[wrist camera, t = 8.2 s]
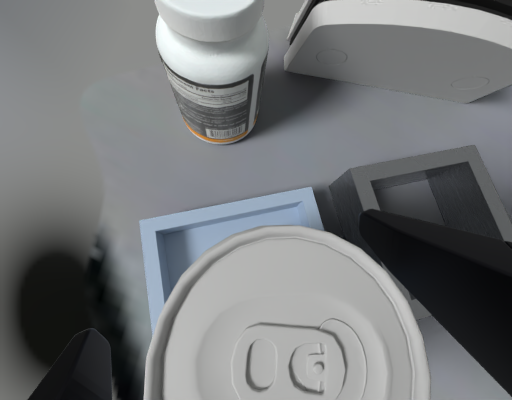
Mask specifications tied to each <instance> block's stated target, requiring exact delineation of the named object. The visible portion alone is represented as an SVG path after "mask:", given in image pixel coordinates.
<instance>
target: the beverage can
mask: <svg viewBox="0 0 512 400" xmlns="http://www.w3.org/2000/svg"><path fill="white" fill-rule="evenodd" d="M430 395H431V375H430V370H429V365H428V360H427V355H426V350H425V345H424V340H423V336H422V333H421V331H420V329H419V326H418V324H417V322H416V319H415V317H414V315H413V312H412V310H411V308H410V305H409V303H408V301H407V299H406V298H405V297H404V295H403V294H402V292H401V291H400V290H399V288H398V287H397V286H396V284H395V283H394V281H393V280H392V279H391V277H390V276H389V274H388V273H387V272H386V271H385V270H384V269H383V268H382V267H381V266H380V265H379V264H378V263H376V262H375V261H374V260H373V259H372V258H371V257H370V256H369V255H367V254H366V253H365V252H364V251H363V250H362V249H361V248H359V247H357V246H355V245H353V244H351V243H350V242H348V241H346V240H344V239H342V238H340V237H338V236H336V235H334V234H332V233H330V232H326V231H322V230H317V229H313V228H309V227H305V226H300V225H265V226H258V227H255V228H252V229H248V230H245V231H242V232H238V233H235V234H232V235H230V236H229V237H227V238H225V239H224V240H222V241H220V242H219V243H217V244H216V245H214V246H212V247H211V248H209V249H208V250H206V251H205V252H204V253H203V254H202V255H201V256H200V257H199V258H198V259H197V260H196V261H195V262H194V263H193V264H192V265H191V266H190V267H189V268H188V269H187V270H186V271H185V272H184V273H183V274H182V275H181V277H180V279H179V280H178V282H177V284H176V285H175V287H174V289H173V291H172V292H171V294H170V296H169V298H168V299H167V301H166V303H165V304H164V306H163V309H162V312H161V314H160V316H159V318H158V321H157V324H156V328H155V331H154V334H153V338H152V341H151V344H150V347H149V351H148V354H147V357H146V369H145V386H144V400H430Z"/></svg>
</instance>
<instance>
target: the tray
mask: <svg viewBox="0 0 512 400" xmlns="http://www.w3.org/2000/svg"><path fill="white" fill-rule="evenodd" d="M139 222H140V231H141V240H142V248H143V257H144V266H145V274H146V283H147V292H148V300H149V309H150V318H151V326H152V335H153V334H154V331H155V328H156V324H157V321H158V318H159V316H160V314H161V312H162V309H163V306H164V304H165V303H166V301H167V299H168V298H169V296H170V294H171V292H172V291H173V289H174V287H175V285H176V284H177V282H178V280H179V279H180V277H181V275H182V274H183V273H184V272H185V271H186V270H187V269H188V268H189V267H190V266H191V265H192V264H193V263H194V262H195V261H196V260H197V259H198V258H199V257H200V256H201V255H202V254H203V253H204V252H205V251H206V250H208V249H209V248H211V247H212V246H214V245H216V244H217V243H219V242H220V241H222V240H224V239H225V238H227V237H229V236H230V235H232V234H235V233H238V232H242V231H245V230H248V229H252V228H255V227H258V226H265V225H300V226H305V227H309V228H313V229H317V230H322V231H324V228H323V225H322V221H321V218H320V214H319V211H318V207H317V204H316V201H315V197H314V194H313V190H312V187H307V188H302V189H297V190H292V191H287V192H282V193H276V194H271V195H266V196H261V197H256V198H251V199H246V200H241V201H236V202H231V203H226V204H221V205H216V206H210V207H205V208H200V209H195V210H190V211H185V212H180V213H175V214H170V215H165V216H160V217H155V218H150V219H144V220H139Z"/></svg>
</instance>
